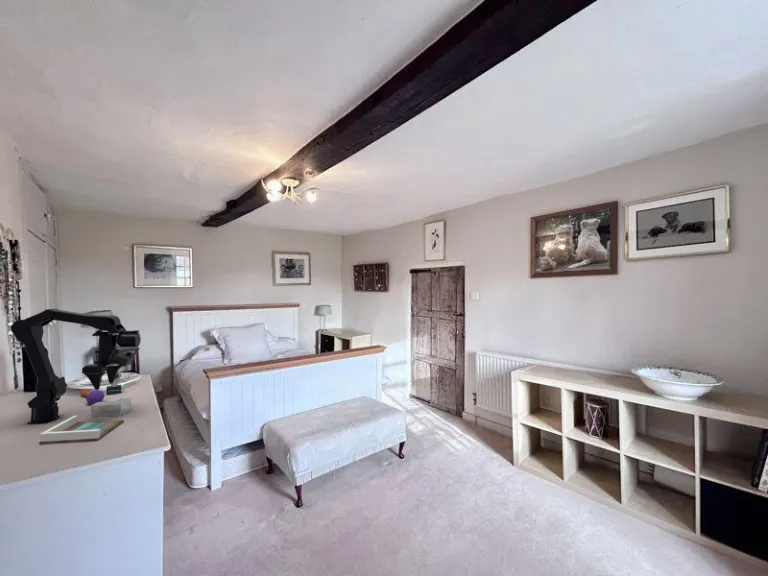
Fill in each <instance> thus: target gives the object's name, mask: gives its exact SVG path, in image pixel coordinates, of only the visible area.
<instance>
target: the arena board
mask: <svg viewBox="0 0 768 576" xmlns="http://www.w3.org/2000/svg"><path fill="white" fill-rule="evenodd" d="M124 421H125V420H124V419H120V420H119V419H118V420H115V419H114V420H98V421H96V420H95V421H80V422H79V421H78V422H77V423H76V424H74V425H72V426H70V427H69V428H67V429H65V430H63V431H78V430H96V429H100V437H99V438H94V439H78V440H61V441H44V442H39V441H38V442H39V443H38V444H39V445H48V444H49V445H50V444H51V445H53V444H65V443H81V442H83V441H85V442H96V441H97V442H98V441H99V440H100V438H101V439H102V438H104V437H105V436H107V435H108V434H109V433H110V432H112V431H114V428H115V427H116V428H118V427H119V426H121V425H122V424H123V423H124ZM121 423H122V424H121ZM118 425H119V426H118ZM117 426H118V427H117ZM116 428H115V429H116ZM111 430H112V431H111ZM107 433H108V434H107Z"/></svg>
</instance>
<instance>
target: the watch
mask: <svg viewBox="0 0 768 576" xmlns="http://www.w3.org/2000/svg"><path fill="white" fill-rule="evenodd" d="M121 373H122V372H120V370H119V371H118V373H117V375H116V377H115V380H114V382H113V383H110V385H107V386H106V388H105V389H106V390H105V391H106V392H105V393H106V394H105V395H106V396H110V395H117V394H122V384H118V383H119V382H120V379H121V377H123V374H121Z"/></svg>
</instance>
